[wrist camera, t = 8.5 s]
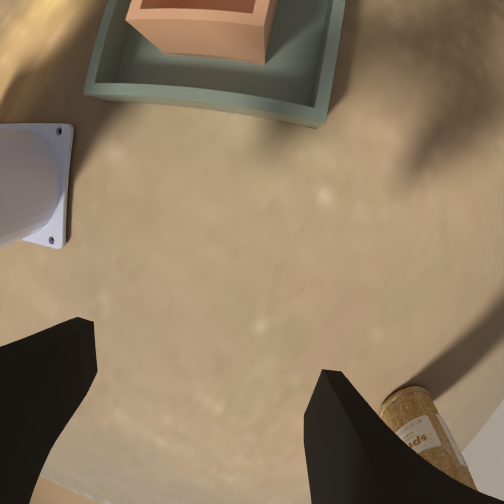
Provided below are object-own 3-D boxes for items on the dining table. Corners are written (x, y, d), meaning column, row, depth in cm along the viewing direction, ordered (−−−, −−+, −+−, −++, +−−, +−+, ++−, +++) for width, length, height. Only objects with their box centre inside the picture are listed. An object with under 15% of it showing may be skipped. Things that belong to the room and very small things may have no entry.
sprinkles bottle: (384, 386, 21) (443, 541, 8) (436, 380, 21) (509, 513, 8) (371, 427, 22) (410, 568, 9) (419, 420, 22) (471, 546, 9)
